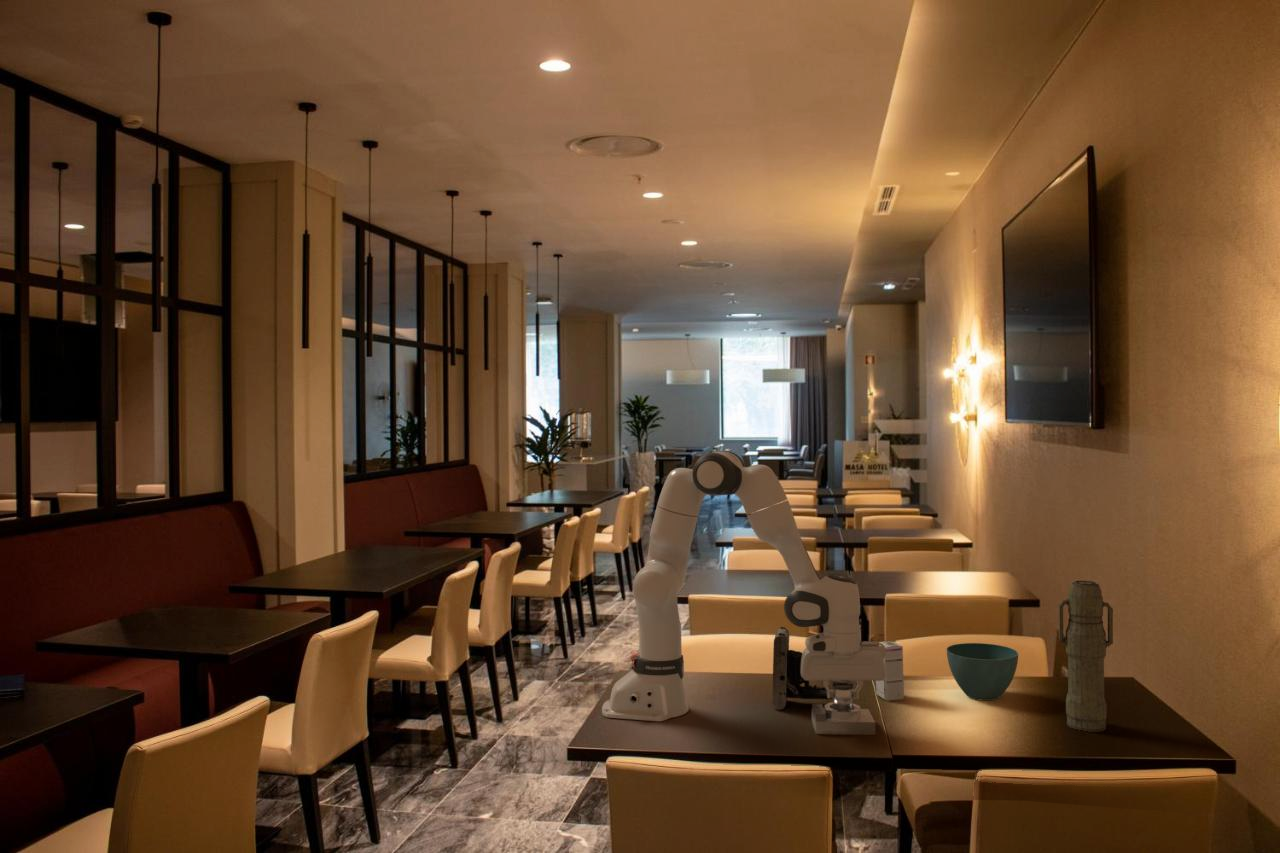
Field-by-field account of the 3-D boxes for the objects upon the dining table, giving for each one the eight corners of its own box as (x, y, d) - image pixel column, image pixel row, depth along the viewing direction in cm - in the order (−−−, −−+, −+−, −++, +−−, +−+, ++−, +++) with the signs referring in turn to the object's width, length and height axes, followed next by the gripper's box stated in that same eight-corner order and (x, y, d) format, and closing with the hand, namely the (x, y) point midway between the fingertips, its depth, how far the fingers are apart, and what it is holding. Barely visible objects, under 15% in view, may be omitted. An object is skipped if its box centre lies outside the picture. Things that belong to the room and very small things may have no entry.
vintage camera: (832, 715, 242) (834, 637, 242) (771, 709, 245) (773, 633, 245) (832, 704, 251) (834, 629, 251) (773, 699, 254) (775, 625, 254)
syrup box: (904, 699, 252) (904, 645, 252) (884, 701, 251) (884, 646, 251) (894, 693, 258) (893, 640, 258) (874, 695, 257) (873, 641, 256)
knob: (831, 704, 233) (831, 680, 233) (851, 704, 233) (851, 680, 233) (834, 710, 228) (834, 685, 228) (854, 710, 228) (854, 685, 228)
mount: (816, 734, 226) (815, 713, 226) (811, 720, 236) (811, 700, 236) (875, 734, 225) (875, 713, 225) (868, 721, 235) (868, 701, 235)
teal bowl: (954, 705, 247) (954, 658, 247) (940, 685, 265) (940, 641, 265) (1027, 707, 245) (1026, 660, 244) (1008, 686, 263) (1007, 642, 262)
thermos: (1117, 733, 224) (1116, 586, 223) (1064, 730, 227) (1063, 584, 226) (1108, 721, 232) (1107, 579, 232) (1056, 718, 235) (1055, 578, 235)
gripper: (882, 638, 233) (883, 694, 233) (799, 638, 234) (800, 693, 234) (887, 644, 227) (888, 701, 227) (801, 644, 228) (802, 701, 228)
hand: (842, 697), depth 231 cm, fingers closed on knob, 5 cm apart
